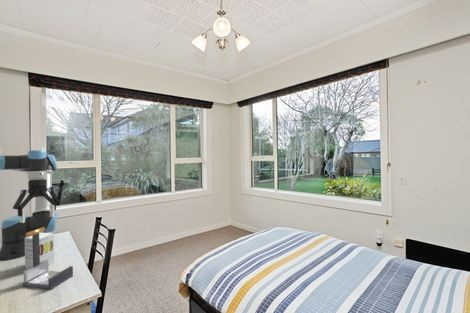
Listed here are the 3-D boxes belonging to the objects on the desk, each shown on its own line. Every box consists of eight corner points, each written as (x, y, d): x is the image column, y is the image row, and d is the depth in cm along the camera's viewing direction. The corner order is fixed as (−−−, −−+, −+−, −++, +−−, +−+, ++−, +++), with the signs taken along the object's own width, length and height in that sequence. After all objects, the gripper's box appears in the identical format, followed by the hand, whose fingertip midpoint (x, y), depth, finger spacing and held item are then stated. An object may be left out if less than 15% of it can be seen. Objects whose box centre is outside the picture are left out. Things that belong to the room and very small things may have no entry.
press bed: (46, 273, 124) (46, 263, 124) (72, 276, 121) (72, 266, 121) (22, 286, 112) (22, 275, 112) (51, 289, 110) (50, 278, 109)
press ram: (45, 269, 123) (44, 226, 123) (48, 269, 123) (48, 226, 122) (23, 281, 113) (22, 233, 112) (27, 281, 112) (26, 233, 112)
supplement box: (38, 270, 127) (37, 239, 127) (24, 268, 129) (23, 237, 129) (54, 262, 137) (54, 233, 136) (41, 260, 138) (41, 231, 138)
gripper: (11, 180, 113) (12, 225, 113) (66, 177, 136) (67, 214, 135) (3, 181, 116) (3, 224, 116) (58, 177, 139) (59, 214, 138)
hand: (38, 219), depth 125 cm, fingers open, 13 cm apart
